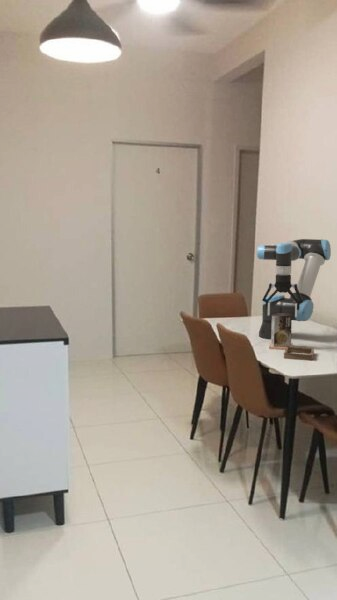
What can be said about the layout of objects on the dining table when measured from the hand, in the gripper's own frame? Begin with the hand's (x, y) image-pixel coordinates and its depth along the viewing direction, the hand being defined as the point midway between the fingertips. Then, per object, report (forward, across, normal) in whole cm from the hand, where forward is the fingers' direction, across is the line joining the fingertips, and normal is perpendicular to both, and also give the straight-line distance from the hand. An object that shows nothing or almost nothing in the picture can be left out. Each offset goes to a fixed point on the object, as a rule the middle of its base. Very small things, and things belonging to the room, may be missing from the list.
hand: (282, 315), depth 263 cm
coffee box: (+16, 0, 0) cm, 16 cm away
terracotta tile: (+16, 0, 0) cm, 16 cm away
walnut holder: (+16, +10, -16) cm, 24 cm away
